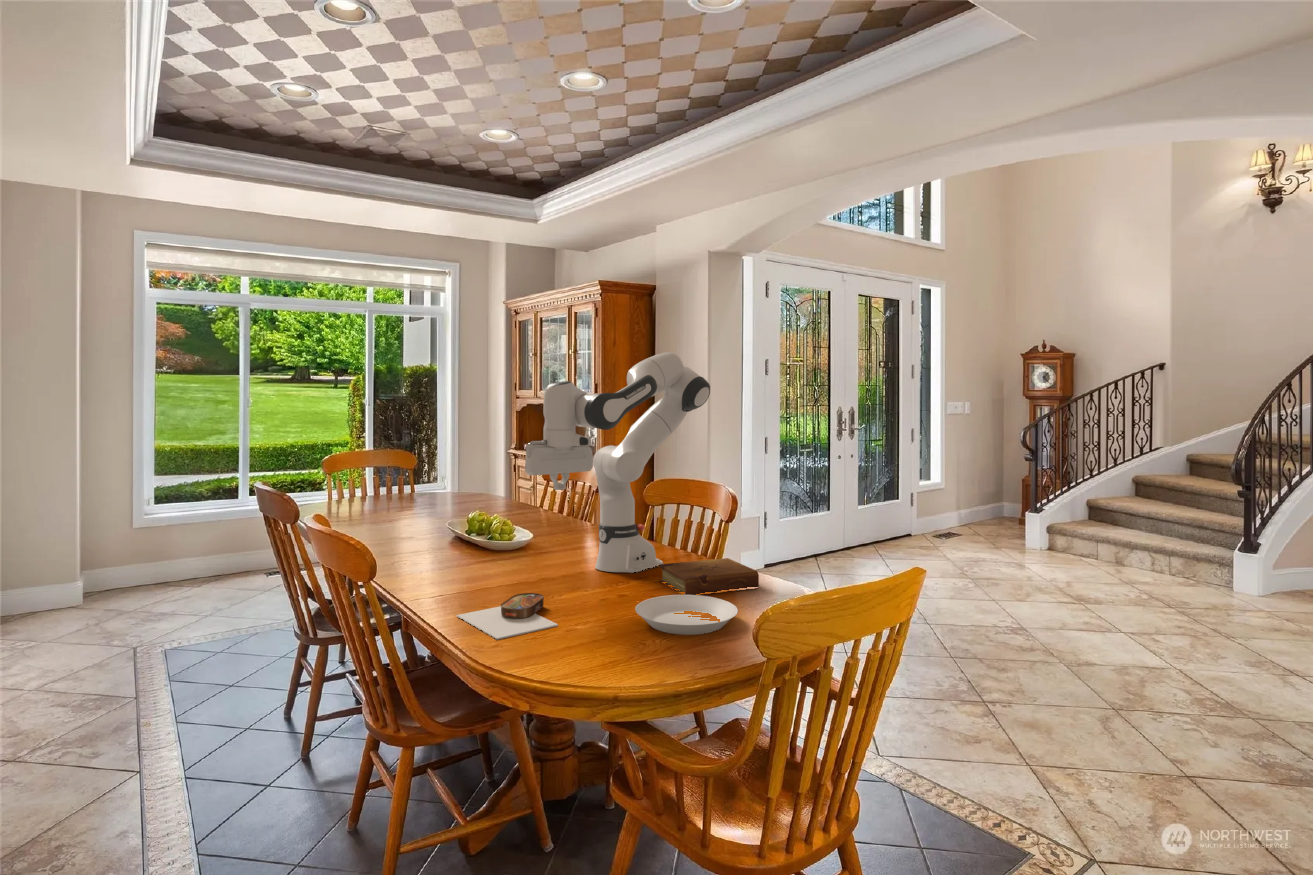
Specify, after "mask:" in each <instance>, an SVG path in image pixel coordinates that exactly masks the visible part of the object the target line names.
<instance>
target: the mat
mask: <svg viewBox="0 0 1313 875" xmlns="http://www.w3.org/2000/svg"><path fill="white" fill-rule="evenodd" d="M455 616H457V617H456V618H458V619H459V618H460V619H459V620H461V619H463V620H464V621H463V620H462V621H463V622H465V623H466V622H467V623H466V624H468V623H469V624H468V625H470V624H471V625H470V626H472V627H473V626H475V627H476V628H475V627H474V628H475V629H477V628H478V629H477V630H479V631H480V630H482V631H483V632H482V631H481V632H482V633H483V634H486V633H487V634H488V635H487V634H486V635H487V636H489V637H491V636H492V637H491V638H493V639H494V638H495V639H494V640H497V641H498V640H503V639H508V638H511V637H516V636H521V635H524V634H529V633H533V632H538V631H542V630H547V629H552V628H555V627H558V626H559V624H558V623H556V622H554V621H551V620H550V619H548V618H546V617H543V616H541V615H539V614H537V613H535V614H533V615H532V616H530V617H526V618H510V617H503V616H502V615H501V605H500V606H496V607H491V608H486V609H485V608H484V609H481V610H475V611H470V612H466V613H461V614H456V615H455Z"/></svg>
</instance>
